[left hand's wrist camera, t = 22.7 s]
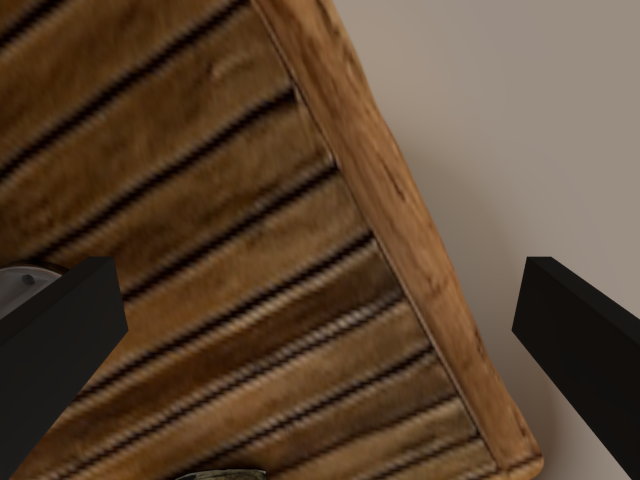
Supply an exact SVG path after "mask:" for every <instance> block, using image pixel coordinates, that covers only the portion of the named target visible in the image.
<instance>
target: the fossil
mask: <svg viewBox="0 0 640 480" xmlns="http://www.w3.org/2000/svg"><path fill="white" fill-rule="evenodd" d="M265 472H266V471H261V470H255V469H253V470H245V469H236V470H232V469H228V470H212V471H203V472H196V473H191V474H188V475H185V476H182V477H180V478H178V479H176V480H266V477H265Z"/></svg>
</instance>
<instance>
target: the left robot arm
mask: <svg viewBox="0 0 640 480" xmlns="http://www.w3.org/2000/svg"><path fill="white" fill-rule="evenodd" d="M127 332H128V326H127V321H126V316H125V312H124V307H123V302H122V297H121V292H120V288H119V283H118V278H117V273H116V269H115V264H114V259H113V257H88V258H86V259H85V260H83V261H82V262H81V263H79V264H78V265H76V266H75V267H74V268H72V269H71V270H69V271H68V270H66V269H64V268H62V267H59V266H56V265H53V264H49V263H45V262H38V261H22V262H16V263H12V264H9V265H6V266H4V267H2V268H0V480H8V479H9V478H10V477H11V476H12V475H13V473H14V472H15V471H16V470H17V468H18V467H19V466H20V465H21V463H22V462H23V461H24V460H25V458H26V457H27V456H28V455H29V453H30V452H31V451H32V450H33V448H34V447H35V446H36V445H37V444H38V442H39V441H40V440H41V439H42V437H43V436H44V435H45V434H46V432H47V431H48V430H49V429H50V427H51V426H52V425H53V424H54V422H55V421H56V420H57V419H58V417H59V416H60V415H61V414H62V412H63V411H64V410H65V409H66V408H67V406H68V405H69V404H70V403H71V401H72V400H73V399H74V398H75V396H76V395H77V394H78V393H79V391H80V390H81V389H82V388H83V386H84V385H85V384H86V383H87V381H88V380H89V379H90V378H91V376H92V375H93V374H94V373H95V372H96V370H97V369H98V368H99V367H100V365H101V364H102V363H103V362H104V360H105V359H106V358H107V357H108V355H109V354H110V353H111V352H112V350H113V349H114V348H115V347H116V345H117V344H118V343H119V342H120V340H121V339H122V338H123V337H124V336H125V334H126V333H127ZM512 332H513V333H514V334H515V335H516V337H517V338H518V339H519V340H520V342H521V343H522V344H523V345H524V347H525V348H526V349H527V350H528V352H529V353H530V354H531V355H532V357H533V358H534V359H535V360H536V362H537V363H538V364H539V365H540V367H541V368H542V369H543V370H544V372H545V373H546V374H547V375H548V376H549V378H550V379H551V380H552V381H553V383H554V384H555V385H556V386H557V388H558V389H559V390H560V391H561V393H562V394H563V395H564V396H565V398H566V399H567V400H568V401H569V403H570V404H571V405H572V406H573V408H574V409H575V410H576V411H577V412H578V414H579V415H580V416H581V417H582V419H583V420H584V421H585V422H586V424H587V425H588V426H589V427H590V429H591V430H592V431H593V432H594V434H595V435H596V436H597V437H598V438H599V440H600V441H601V442H602V443H603V445H604V446H605V447H606V448H607V450H608V451H609V452H610V453H611V455H612V456H613V457H614V458H615V460H616V461H617V462H618V463H619V465H620V466H621V467H622V468H623V470H624V471H625V472H626V473H627V475H628V476H629V477H630V478H631V479H632V480H640V319H638V318H637V317H635V316H634V315H633V314H631V313H630V312H628V311H627V310H626V309H624V308H623V307H621V306H620V305H619V304H617V303H616V302H614V301H613V300H611V299H610V298H609V297H607V296H606V295H604V294H603V293H602V292H600V291H599V290H597V289H596V288H595V287H593V286H592V285H590V284H589V283H588V282H586V281H585V280H583V279H582V278H580V277H579V276H578V275H576V274H575V273H573V272H572V271H571V270H569V269H568V268H566V267H565V266H564V265H562V264H561V263H559V262H558V261H557V260H555V259H554V258H552V257H527V259H526V264H525V269H524V273H523V278H522V283H521V288H520V292H519V298H518V302H517V307H516V312H515V316H514V321H513V326H512Z"/></svg>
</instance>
